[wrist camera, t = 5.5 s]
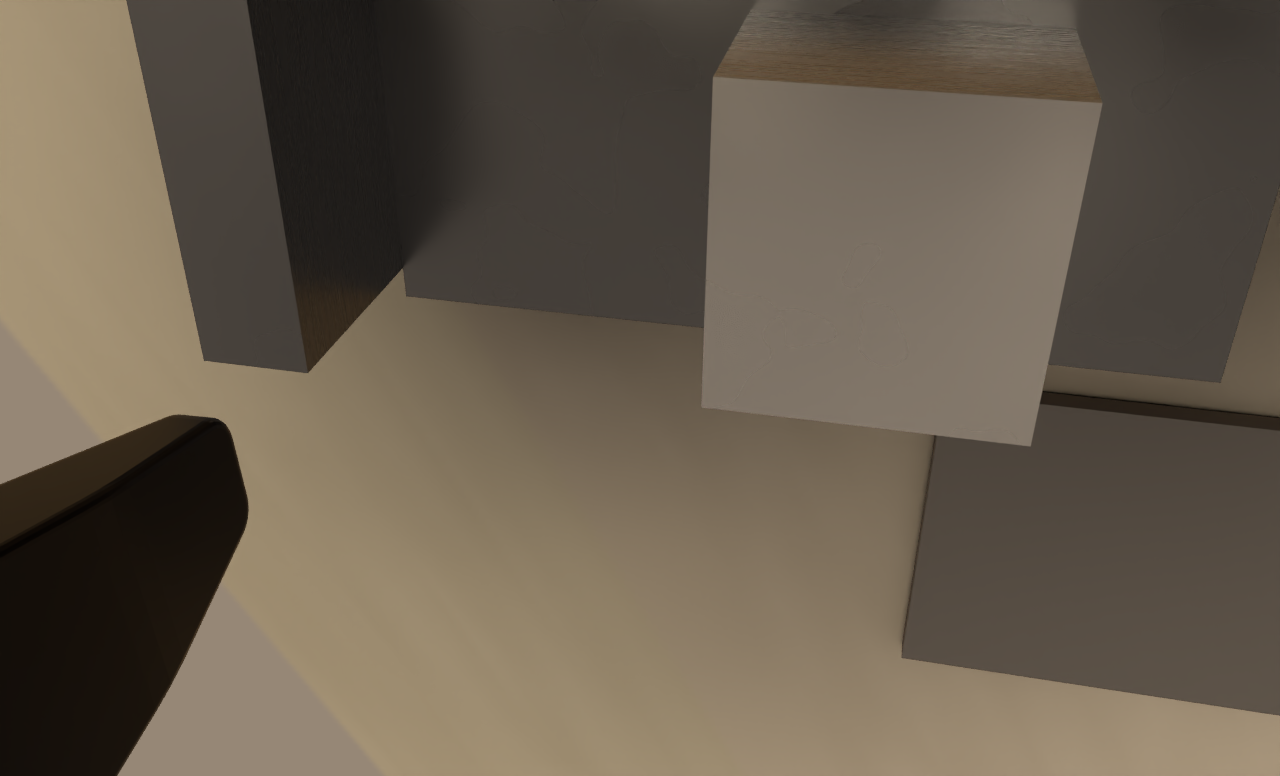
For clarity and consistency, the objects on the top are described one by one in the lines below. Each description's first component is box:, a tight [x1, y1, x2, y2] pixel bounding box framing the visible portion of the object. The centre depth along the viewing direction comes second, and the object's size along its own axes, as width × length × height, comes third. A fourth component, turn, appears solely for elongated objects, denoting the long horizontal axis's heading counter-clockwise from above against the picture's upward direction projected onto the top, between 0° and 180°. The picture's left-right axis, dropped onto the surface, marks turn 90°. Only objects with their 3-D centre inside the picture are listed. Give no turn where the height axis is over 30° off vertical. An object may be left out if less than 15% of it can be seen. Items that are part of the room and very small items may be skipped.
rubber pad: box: [902, 392, 1280, 715], centre depth 21 cm, size 8×6×1 cm
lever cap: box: [701, 10, 1103, 446], centre depth 15 cm, size 4×4×3 cm
